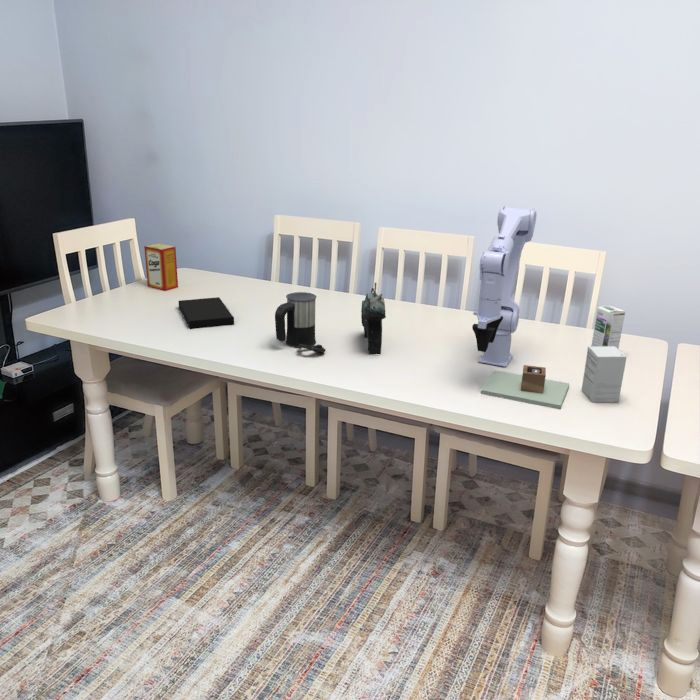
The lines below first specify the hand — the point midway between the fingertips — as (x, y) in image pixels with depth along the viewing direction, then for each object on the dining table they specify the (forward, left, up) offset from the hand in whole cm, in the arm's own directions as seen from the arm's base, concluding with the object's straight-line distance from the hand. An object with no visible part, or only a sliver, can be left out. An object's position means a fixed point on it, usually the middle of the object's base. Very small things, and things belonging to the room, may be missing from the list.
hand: (485, 346), depth 183 cm
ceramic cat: (-10, -37, -10) cm, 40 cm away
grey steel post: (+2, +14, -9) cm, 17 cm away
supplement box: (-3, +30, -10) cm, 32 cm away
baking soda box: (-30, -131, -10) cm, 135 cm away
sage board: (+2, +12, -9) cm, 15 cm away
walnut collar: (+2, +14, -8) cm, 16 cm away
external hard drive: (-9, -97, -10) cm, 98 cm away
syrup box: (-35, +28, -10) cm, 46 cm away
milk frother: (+1, -53, -10) cm, 54 cm away
